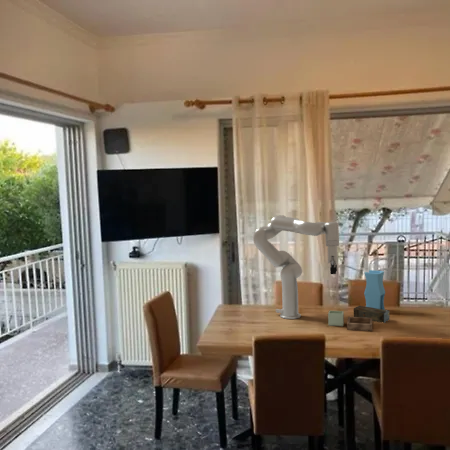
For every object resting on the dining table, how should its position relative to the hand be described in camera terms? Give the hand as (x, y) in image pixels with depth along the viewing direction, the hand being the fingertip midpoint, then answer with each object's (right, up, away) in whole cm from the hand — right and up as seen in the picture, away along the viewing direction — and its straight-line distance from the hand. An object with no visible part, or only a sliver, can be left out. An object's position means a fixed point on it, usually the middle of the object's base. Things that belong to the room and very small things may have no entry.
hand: (333, 272), depth 262 cm
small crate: (0, -29, -5) cm, 29 cm away
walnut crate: (+12, -29, -11) cm, 33 cm away
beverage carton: (+23, -28, +5) cm, 37 cm away
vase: (+31, -27, +21) cm, 46 cm away
